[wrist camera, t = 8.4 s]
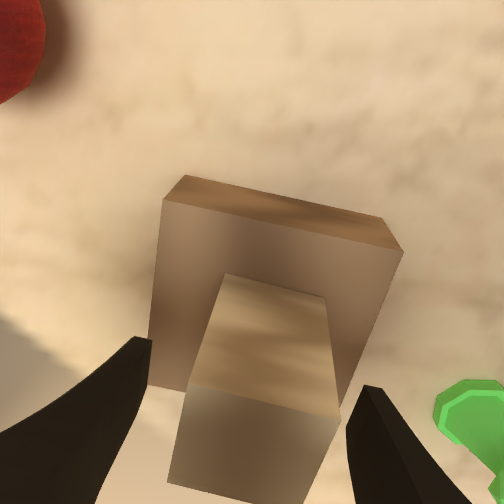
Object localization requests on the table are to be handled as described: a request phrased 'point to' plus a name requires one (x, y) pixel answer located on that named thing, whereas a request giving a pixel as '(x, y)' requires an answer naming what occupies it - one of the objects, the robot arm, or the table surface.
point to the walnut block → (263, 268)
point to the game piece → (476, 424)
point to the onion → (20, 44)
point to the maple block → (258, 397)
